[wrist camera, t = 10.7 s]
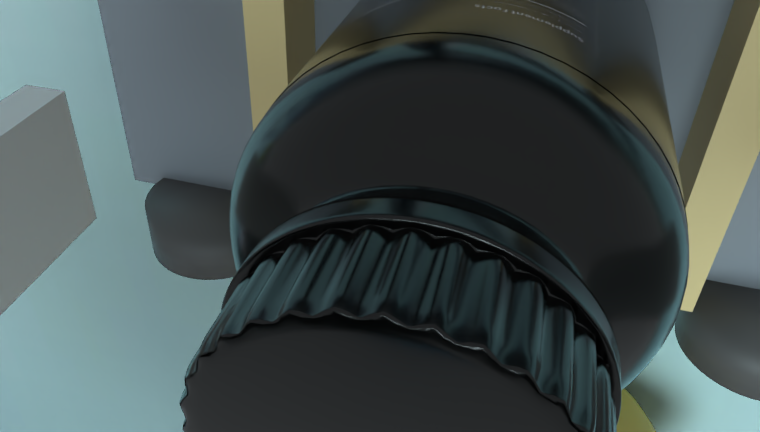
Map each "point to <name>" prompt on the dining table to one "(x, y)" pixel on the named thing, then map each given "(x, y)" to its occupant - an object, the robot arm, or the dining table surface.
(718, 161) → the chassis
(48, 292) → the dining table surface
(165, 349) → the dining table surface
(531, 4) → the supplement bottle
